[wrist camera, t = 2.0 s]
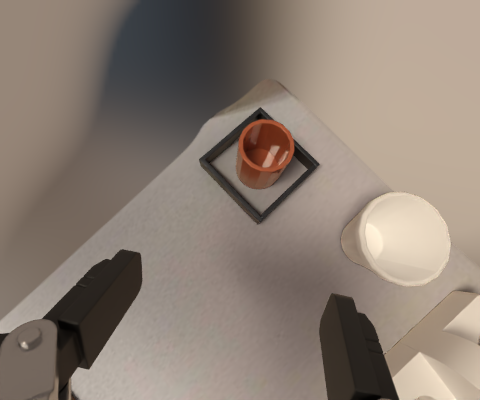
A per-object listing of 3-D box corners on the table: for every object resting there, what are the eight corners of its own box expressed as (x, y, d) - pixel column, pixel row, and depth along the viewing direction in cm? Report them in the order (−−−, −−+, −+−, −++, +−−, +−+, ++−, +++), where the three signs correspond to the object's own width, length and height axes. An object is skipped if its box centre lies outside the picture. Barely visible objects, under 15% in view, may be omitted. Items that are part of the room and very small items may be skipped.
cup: (362, 193, 39) (405, 173, 29) (410, 248, 37) (471, 245, 28) (311, 235, 37) (340, 228, 28) (360, 295, 35) (407, 308, 26)
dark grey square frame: (200, 165, 38) (198, 159, 35) (258, 116, 40) (260, 106, 38) (257, 224, 37) (260, 222, 34) (313, 170, 39) (320, 164, 36)
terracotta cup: (226, 166, 38) (227, 143, 30) (258, 138, 39) (266, 109, 32) (257, 198, 37) (266, 182, 30) (288, 169, 39) (305, 146, 31)
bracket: (410, 457, 32) (511, 565, 21) (355, 381, 33) (422, 444, 22) (511, 351, 35) (644, 395, 24) (457, 286, 36) (559, 299, 25)
